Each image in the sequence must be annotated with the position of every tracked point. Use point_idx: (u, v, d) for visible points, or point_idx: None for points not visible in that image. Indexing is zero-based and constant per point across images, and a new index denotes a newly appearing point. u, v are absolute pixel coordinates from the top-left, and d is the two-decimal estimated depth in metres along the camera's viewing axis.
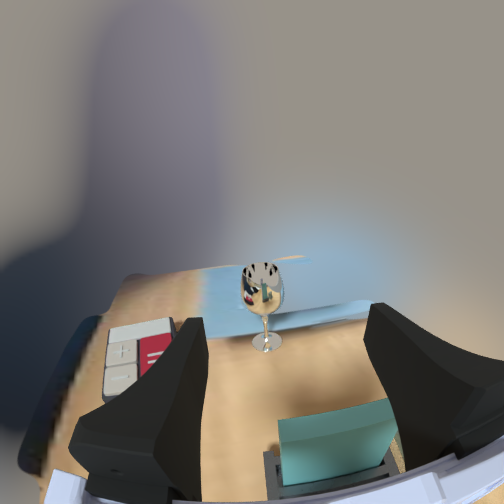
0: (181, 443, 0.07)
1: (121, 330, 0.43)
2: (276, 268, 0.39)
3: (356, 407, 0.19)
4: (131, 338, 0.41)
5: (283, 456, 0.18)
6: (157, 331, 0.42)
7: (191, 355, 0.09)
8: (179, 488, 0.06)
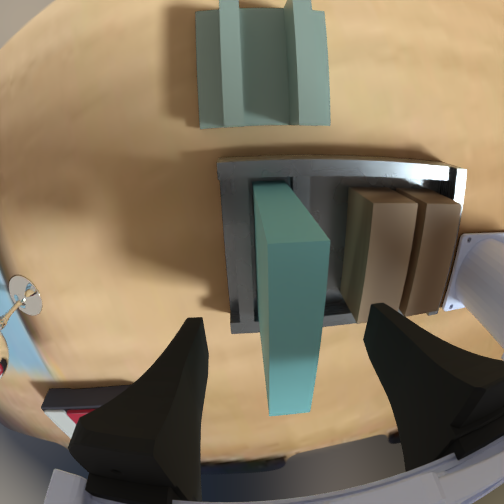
0: (181, 443, 0.07)
1: None
2: None
3: (273, 327, 0.11)
4: None
5: None
6: (69, 422, 0.26)
7: (191, 354, 0.09)
8: (179, 488, 0.06)
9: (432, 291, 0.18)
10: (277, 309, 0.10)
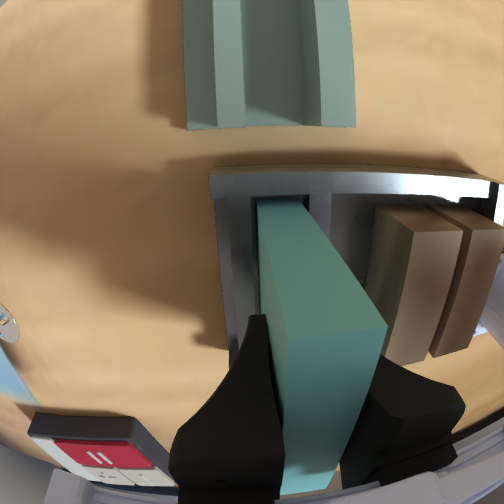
0: None
1: (76, 472, 0.24)
2: None
3: (289, 430, 0.07)
4: (82, 468, 0.23)
5: None
6: (58, 449, 0.21)
7: None
8: (280, 487, 0.06)
9: (465, 328, 0.14)
10: (296, 413, 0.06)
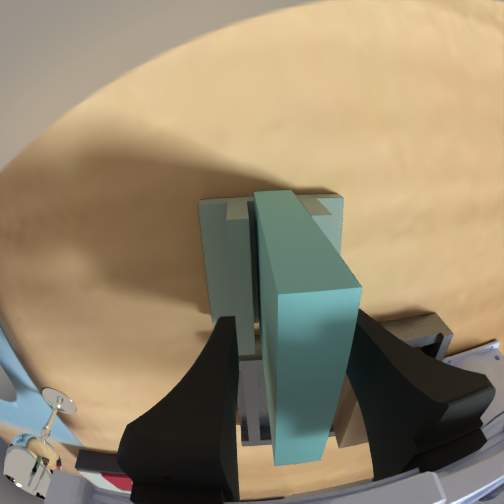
0: (229, 443, 0.07)
1: None
2: (7, 471, 0.13)
3: (282, 388, 0.08)
4: (120, 490, 0.29)
5: None
6: (102, 479, 0.27)
7: (230, 353, 0.09)
8: (231, 489, 0.06)
9: None
10: (288, 369, 0.08)
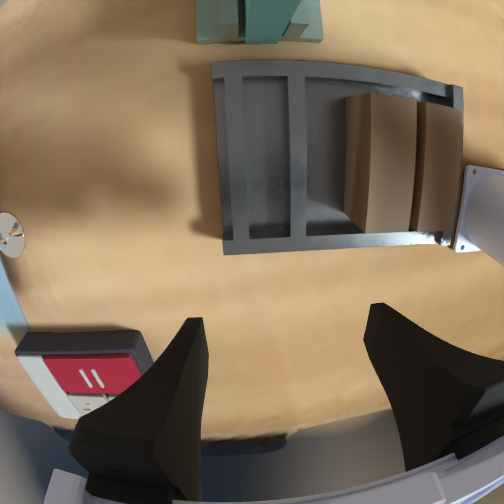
0: (181, 443, 0.07)
1: (58, 407, 0.25)
2: None
3: None
4: (67, 399, 0.24)
5: None
6: (45, 371, 0.23)
7: (191, 354, 0.09)
8: (179, 488, 0.06)
9: (443, 204, 0.16)
10: None
